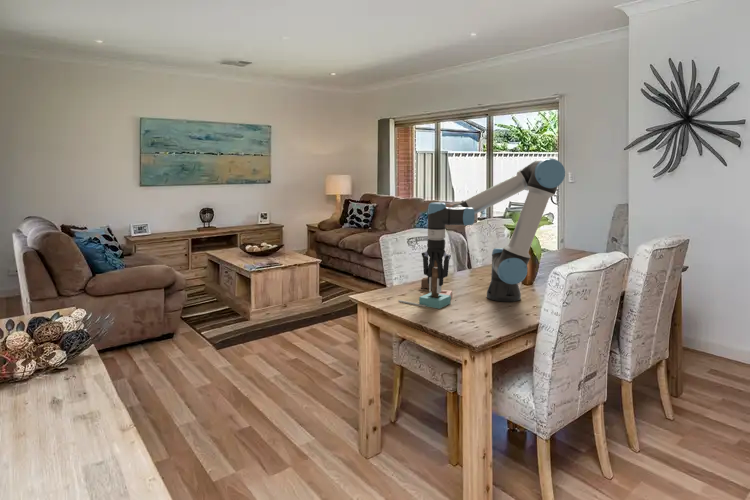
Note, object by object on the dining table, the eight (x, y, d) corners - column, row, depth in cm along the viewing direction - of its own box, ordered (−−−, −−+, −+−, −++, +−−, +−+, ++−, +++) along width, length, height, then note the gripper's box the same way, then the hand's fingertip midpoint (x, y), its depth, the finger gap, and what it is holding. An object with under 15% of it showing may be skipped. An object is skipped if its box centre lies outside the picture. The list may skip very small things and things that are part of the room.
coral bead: (452, 297, 228) (452, 290, 227) (449, 301, 220) (449, 295, 219) (434, 295, 230) (435, 289, 229) (431, 300, 222) (431, 293, 222)
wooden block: (421, 288, 243) (421, 252, 240) (422, 286, 248) (423, 251, 245) (439, 289, 241) (440, 253, 238) (440, 287, 245) (441, 252, 242)
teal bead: (450, 303, 217) (450, 295, 216) (439, 308, 209) (439, 300, 208) (430, 299, 223) (430, 292, 222) (419, 304, 215) (419, 297, 214)
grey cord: (426, 306, 212) (426, 305, 212) (425, 307, 211) (425, 305, 211) (399, 301, 220) (399, 300, 220) (398, 301, 220) (398, 300, 219)
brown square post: (439, 303, 216) (440, 267, 213) (436, 305, 214) (437, 268, 211) (433, 302, 218) (434, 266, 215) (429, 303, 215) (430, 268, 213)
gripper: (415, 238, 213) (414, 290, 217) (448, 241, 203) (447, 296, 207) (424, 236, 219) (423, 287, 223) (457, 239, 209) (455, 293, 213)
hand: (435, 291), depth 215 cm, fingers closed on brown square post, 3 cm apart
